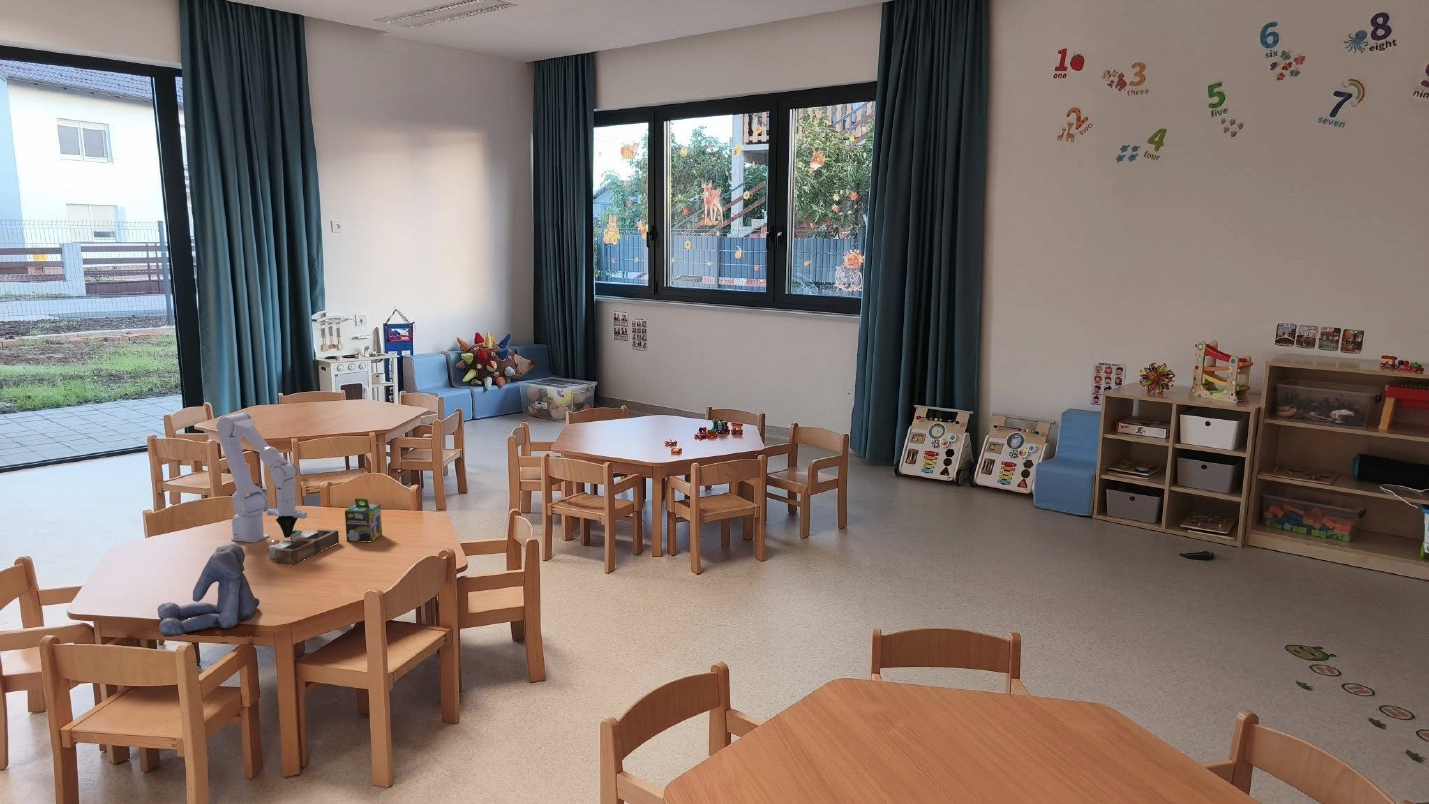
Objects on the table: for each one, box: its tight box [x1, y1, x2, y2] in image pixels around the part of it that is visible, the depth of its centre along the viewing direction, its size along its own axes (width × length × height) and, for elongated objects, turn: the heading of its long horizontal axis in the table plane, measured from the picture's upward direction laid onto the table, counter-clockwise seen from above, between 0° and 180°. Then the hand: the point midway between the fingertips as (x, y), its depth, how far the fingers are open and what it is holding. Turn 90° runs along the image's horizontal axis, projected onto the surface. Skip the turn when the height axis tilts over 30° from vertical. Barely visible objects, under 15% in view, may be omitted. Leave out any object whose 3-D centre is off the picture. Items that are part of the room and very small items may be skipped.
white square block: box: [266, 539, 297, 559], centre depth 304 cm, size 7×7×5 cm
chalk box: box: [344, 497, 383, 542], centre depth 323 cm, size 9×9×15 cm
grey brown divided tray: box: [274, 528, 340, 566], centre depth 308 cm, size 7×23×5 cm, turn 166°
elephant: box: [157, 543, 260, 638], centre depth 252 cm, size 21×25×21 cm
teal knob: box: [289, 529, 319, 542], centre depth 315 cm, size 7×7×5 cm
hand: (288, 536), depth 316 cm, fingers closed
